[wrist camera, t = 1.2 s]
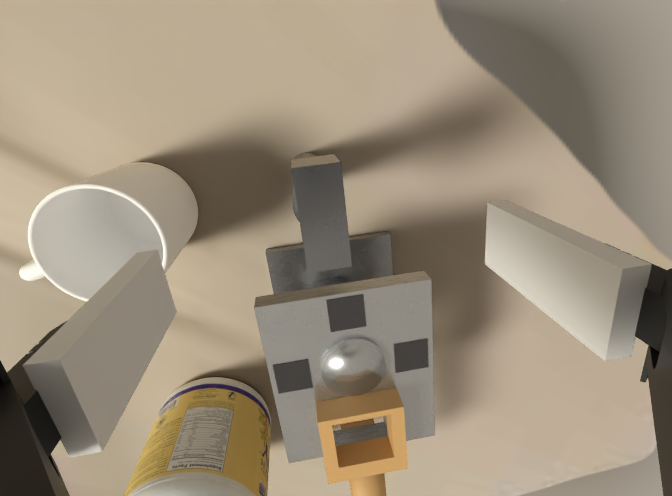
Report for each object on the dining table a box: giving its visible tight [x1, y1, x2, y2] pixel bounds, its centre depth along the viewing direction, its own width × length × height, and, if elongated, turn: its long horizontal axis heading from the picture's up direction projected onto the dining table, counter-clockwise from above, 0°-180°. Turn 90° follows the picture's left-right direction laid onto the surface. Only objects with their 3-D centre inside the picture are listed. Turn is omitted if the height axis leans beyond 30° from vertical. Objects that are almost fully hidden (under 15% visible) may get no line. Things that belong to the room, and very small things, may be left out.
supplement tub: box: [124, 377, 271, 496], centre depth 35 cm, size 12×12×17 cm
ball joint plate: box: [254, 231, 435, 463], centre depth 34 cm, size 15×12×12 cm
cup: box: [19, 162, 198, 301], centre depth 29 cm, size 8×12×10 cm
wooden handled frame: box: [316, 388, 408, 496], centre depth 33 cm, size 17×6×5 cm, turn 6°
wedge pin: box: [291, 152, 352, 273], centre depth 27 cm, size 6×3×16 cm, turn 7°
